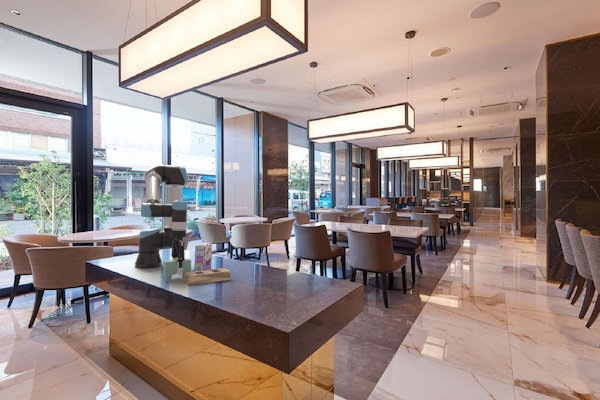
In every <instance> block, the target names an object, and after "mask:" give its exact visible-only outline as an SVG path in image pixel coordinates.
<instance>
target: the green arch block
mask: <svg viewBox="0 0 600 400" xmlns="http://www.w3.org/2000/svg"><path fill="white" fill-rule="evenodd" d="M162 263H163V264H162V274H163V275H164V281H165V282H172V279H173V278H172V277H173V276H172V275H178V274H177V260H171V259H168V260H163V261H162ZM185 272H192V259H190V258H185V261H183V274H181V278H182V279H183V280H184V273H185Z"/></svg>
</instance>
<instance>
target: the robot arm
mask: <svg viewBox="0 0 600 400" xmlns="http://www.w3.org/2000/svg"><path fill="white" fill-rule="evenodd" d="M144 182H145V201H144V202H143V203H141V205H140V216H141V217H142V218H166V224H165V225H164V227H163V230H161V228H159V227H154V228H153V227H152V228H147V229H142V230H140V231H139V235H138V254H137V257H136V259H135V262H134V267H135V268H137V269H152V268H158V267H161V266H163V264H162V263H163V261H162V258H161V255H160V250H161V249H171V253H170V256H171V257H172V260H177V274H176V275H182V274H183V261H185V259H186V258H185V245H186V244H185V240H186V237H187V225H188V221H187V217H188V215H187V214H188V202H187V201H186V200H182V199H183V198H182V196H183V188H184V187H185V185H186V184H187V183H188V174H187V170H186V167H185V166H181V165H173V164H170V165H169V164H156V165H154V166H151V167H150V168H148V170H147V171H146V172H145V174H144ZM161 183H162V184H163V183H164V185H165V187H166V188H167V201H166V203H161Z"/></svg>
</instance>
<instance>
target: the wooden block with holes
mask: <svg viewBox="0 0 600 400" xmlns="http://www.w3.org/2000/svg"><path fill="white" fill-rule="evenodd" d="M231 275H232V270H229V269H227V268H225V267H222V268H221V267H219V268H211V269H210V270H202V271H194V270H193V271H191V272H185V273H184V279H183V282H184V283H185V284H187V285H188V286H195V285H200V284H201V285H202V284H208V283H217V282H223V281H228V280H230V281H231V277H232V276H231Z"/></svg>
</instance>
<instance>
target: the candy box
mask: <svg viewBox="0 0 600 400" xmlns="http://www.w3.org/2000/svg"><path fill="white" fill-rule="evenodd" d="M212 256H213V243H212V242H202V243H199V244H197V245H195V250H194V269H193V272H194V271H202V270H211V269H212V261H213V260H212V259H213V258H212Z"/></svg>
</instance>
